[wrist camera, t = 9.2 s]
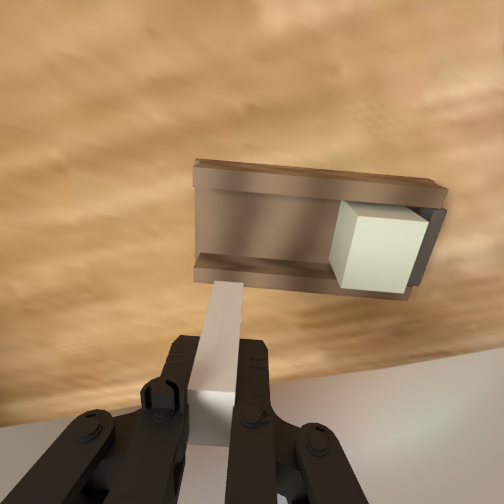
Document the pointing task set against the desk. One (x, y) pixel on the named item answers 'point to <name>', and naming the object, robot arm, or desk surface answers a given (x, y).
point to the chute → (294, 223)
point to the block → (375, 245)
